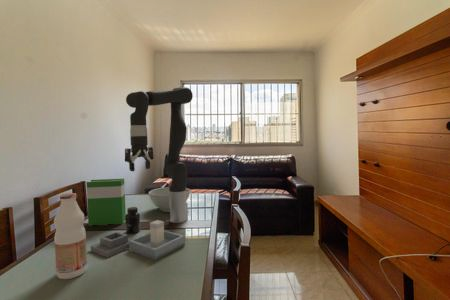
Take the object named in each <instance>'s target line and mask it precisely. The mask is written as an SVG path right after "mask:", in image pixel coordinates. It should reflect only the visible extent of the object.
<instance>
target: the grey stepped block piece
mask: <svg viewBox="0 0 450 300" xmlns="http://www.w3.org/2000/svg"><path fill="white" fill-rule="evenodd" d="M132 239H133V238H130V237H129V234H127V233H122V232H120V231H114V232H111V233H109V234H106V235H103V236H100V237H99V242H98V243H94V244H92V245H90V251H91V252H93V253H96V254H98V255H100V256H103V257H104V258H110V257H112V256H114V255H117V254H119V253H121V252H123V251H126V250H129V241H130V240H132Z"/></svg>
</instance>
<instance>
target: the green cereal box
mask: <svg viewBox="0 0 450 300" xmlns="http://www.w3.org/2000/svg"><path fill="white" fill-rule="evenodd" d="M85 183H86V199H87V200H86V203H87V220H88V223H87V224H88V227H93V226H92V225H99V226H109V225H108V224H114V225H123V224H124V223H125V222H126V220H125V216H126V214H127V211H126V190H125V189H126V188H125V186H126V185H125V184H126V183H125V178H106V179H105V178H102V179H91V180H90V181H86V182H85ZM124 221H125V222H124Z"/></svg>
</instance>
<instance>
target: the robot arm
mask: <svg viewBox="0 0 450 300" xmlns="http://www.w3.org/2000/svg"><path fill="white" fill-rule="evenodd" d="M193 98H194V97H193V91H192V90H191V89H190V88H189V87H187V86H186V87H185V86H181V87H174V88H173V89H172V90H149V91H143V90H142V91H134V92H130V93H128V95H127V96H126V97H125V102H126V104H127V105H128V106H129V107H130V108H131V109H135V110H134V112H132V113H130V115H129V116H130V117H129V119H130V130H129V133H130V135H129V136H130V137H129V138H130V139H129V140H130V146H131V148H129V147H128V148H125V149H124V162H125V163H128V165H129V166H128V167H129V171H130V172H135V170H136V169H135V161H136V160H137V159H138V158H143V160H144V161H145V162H144V163H145V169H146V170H149V169H151V161H152V160H154V148H153V147H152V146H151V147H150V146H148V128H147V116H148V115H147V114H148V110H149V106H161V105H166V104H170V126H169V141H168V142H169V144H168V152H167V154H168V155H167V158H166V159H167V161H166V165H165V172H166V175H167V177H169V178H170V179H171V178H172V180H173V181H172V184H170V185H169V186H168V187H169V199H170V212H169V220H170V221H169V222H170V223H173V224H182V223H185V222H187V220H188V219H189V214H188V210H189V208H188V207H189V206H188V202H187V201H186V188H187V185H188V167H187V165H186V163H184V162H182V161H181V162H180V154H181V152H182V148H183V147H184V145H185V142H186V139H187V133H188V131H187V129H188V128H187V124H186V122H185V120H184V117H183V116H182V105H186V104H189V103H190V102H191V101H192V100H193Z"/></svg>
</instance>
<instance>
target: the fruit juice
mask: <svg viewBox="0 0 450 300" xmlns="http://www.w3.org/2000/svg"><path fill="white" fill-rule="evenodd" d="M76 199H77V193H76V192H75V193H73V192H69V193H68V192H67V193H62V194H60V195H59V200H60V205H59V208H58V211H57V213H56V215H55V217H54V219H53V225H54V228H55V232H54V240H53V241H54V253H55V254H54V255H55V256H54V257H55V271H56V272H55V273H56V277H57V278H58V279H59V280H70V279H75V278H77V277H79V276H82V275H83V274H84V273H85V272H87V270H88V253H87V235H86V233H87V232H86V228H85V226H84V224H85V223H84V222H85V220H86V219H85V214H84V212H83V211H82V209H81V208H80V206H79V204H78V202H77V200H76Z"/></svg>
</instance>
